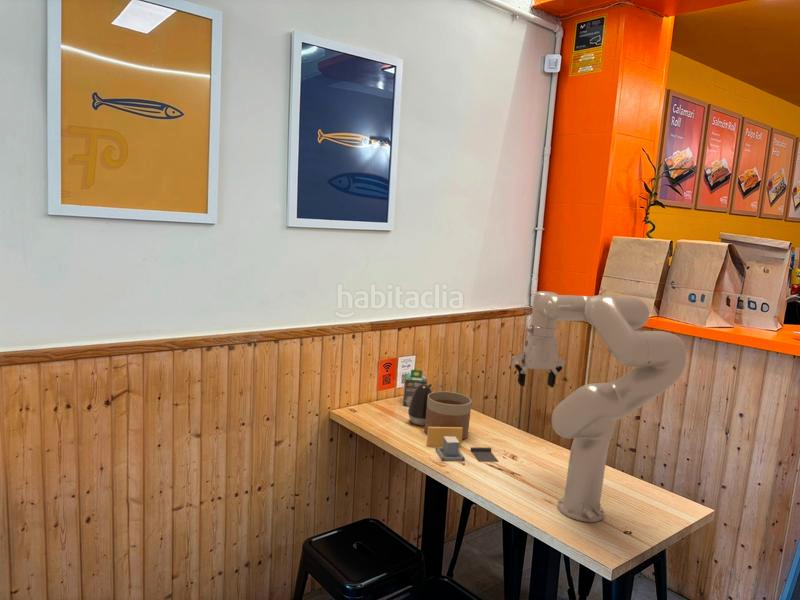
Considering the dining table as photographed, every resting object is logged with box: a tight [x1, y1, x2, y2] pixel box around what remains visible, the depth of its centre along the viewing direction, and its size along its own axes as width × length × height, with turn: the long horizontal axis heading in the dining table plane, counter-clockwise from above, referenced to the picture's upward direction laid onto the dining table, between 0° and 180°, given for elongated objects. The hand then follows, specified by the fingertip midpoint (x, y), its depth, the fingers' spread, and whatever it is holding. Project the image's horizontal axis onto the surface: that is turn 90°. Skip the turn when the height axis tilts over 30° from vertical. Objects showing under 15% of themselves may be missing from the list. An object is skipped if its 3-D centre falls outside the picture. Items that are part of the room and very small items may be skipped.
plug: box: [442, 436, 460, 457], centre depth 192 cm, size 5×4×6 cm
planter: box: [424, 390, 472, 441], centre depth 211 cm, size 16×16×14 cm
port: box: [426, 427, 466, 462], centre depth 194 cm, size 13×12×7 cm
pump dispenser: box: [407, 383, 433, 427], centre depth 221 cm, size 10×10×15 cm
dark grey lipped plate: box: [470, 446, 499, 463], centre depth 194 cm, size 9×7×2 cm
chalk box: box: [402, 369, 428, 407], centre depth 244 cm, size 9×9×15 cm
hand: (535, 385), depth 182 cm, fingers open, 9 cm apart
